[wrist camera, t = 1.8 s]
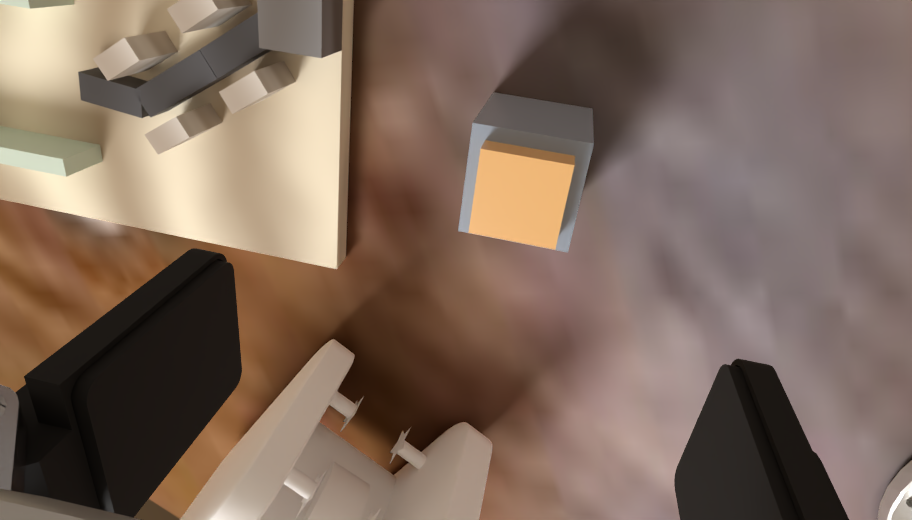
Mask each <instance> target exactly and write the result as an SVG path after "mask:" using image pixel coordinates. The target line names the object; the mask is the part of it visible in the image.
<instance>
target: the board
mask: <svg viewBox="0 0 912 520" xmlns="http://www.w3.org/2000/svg"><path fill="white" fill-rule="evenodd" d="M353 13H354V0H74V5H64V6H53V7H43V8H32V9H29V8H23V7H17V6H10V5H4V4H0V126H4V127H10V128H15V129H20V130H25V131H30V132H36V133H41V134H46V135H51V136H57V137H62V138H67V139H72V140H77V141H83V142H88V143H93V144H98V145H100V148H101V154H102V159H103V161H102V162H100V163H98V164H95V165H93V166H91V167H88V168H86V169H83V170H81V171H79V172H76V173H74V174H72V175H69V176H67V177H65V176H60V175H55V174H50V173H45V172H40V171H35V170H30V169H25V168H20V167H15V166H10V165H5V164H0V199H2V200H7V201H12V202H17V203H22V204H26V205H31V206H36V207H41V208H46V209H50V210H55V211H60V212H65V213H70V214H74V215H79V216H84V217H89V218H94V219H98V220H103V221H108V222H113V223H118V224H122V225H127V226H132V227H137V228H142V229H146V230H151V231H156V232H161V233H166V234H170V235H175V236H180V237H185V238H190V239H195V240H199V241H204V242H209V243H214V244H219V245H223V246H228V247H233V248H238V249H243V250H247V251H252V252H257V253H262V254H267V255H271V256H276V257H281V258H286V259H291V260H295V261H300V262H305V263H310V264H315V265H319V266H324V267H329V268H334V269H337V268H338V267H339V266H340V264H341V263H342V262H343V261H344V259H345V258H346V239H347V207H348V174H349V142H350V110H351V78H352V46H353Z"/></svg>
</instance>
